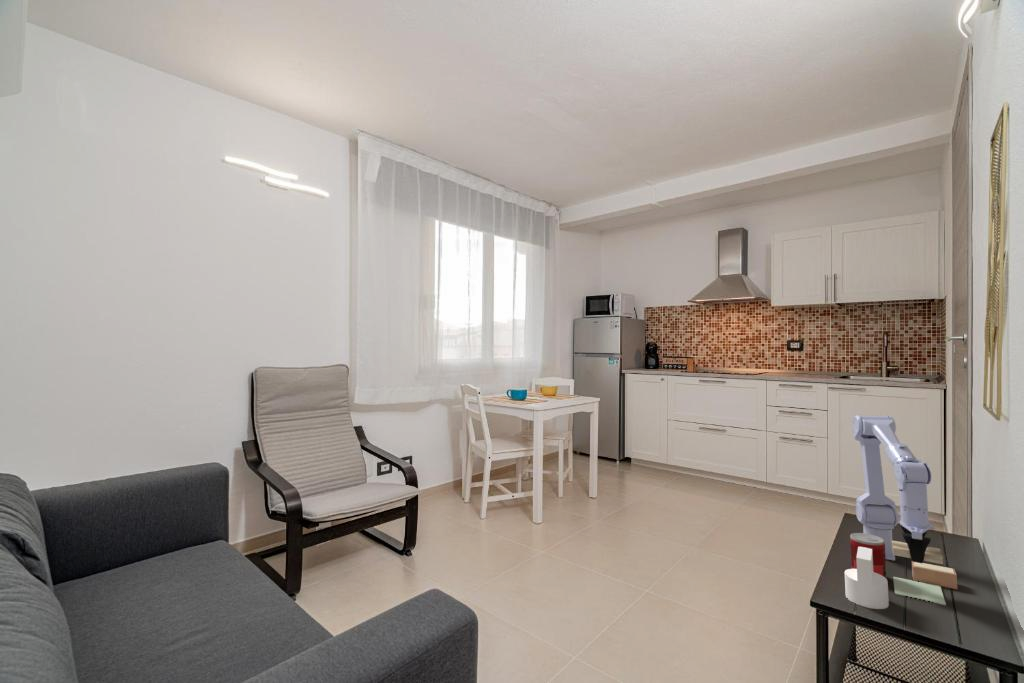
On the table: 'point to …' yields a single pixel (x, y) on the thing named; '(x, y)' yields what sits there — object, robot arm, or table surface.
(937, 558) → the beige block
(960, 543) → the table surface
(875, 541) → the canned food
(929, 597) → the mat
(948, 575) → the brown and cream block
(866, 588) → the cylinder with rectangular tab
